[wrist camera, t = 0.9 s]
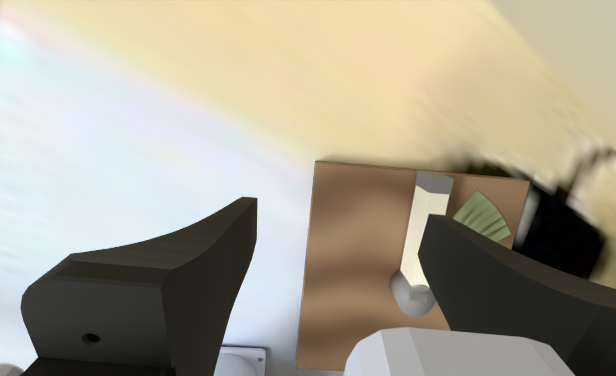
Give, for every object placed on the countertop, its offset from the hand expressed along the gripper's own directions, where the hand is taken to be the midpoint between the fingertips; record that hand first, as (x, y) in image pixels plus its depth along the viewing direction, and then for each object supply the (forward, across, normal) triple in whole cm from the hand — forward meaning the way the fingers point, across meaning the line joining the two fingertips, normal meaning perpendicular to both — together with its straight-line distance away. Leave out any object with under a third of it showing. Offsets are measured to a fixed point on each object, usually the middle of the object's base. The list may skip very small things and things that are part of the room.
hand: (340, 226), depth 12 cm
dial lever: (+11, -8, +7) cm, 15 cm away
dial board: (+12, -8, +11) cm, 18 cm away
